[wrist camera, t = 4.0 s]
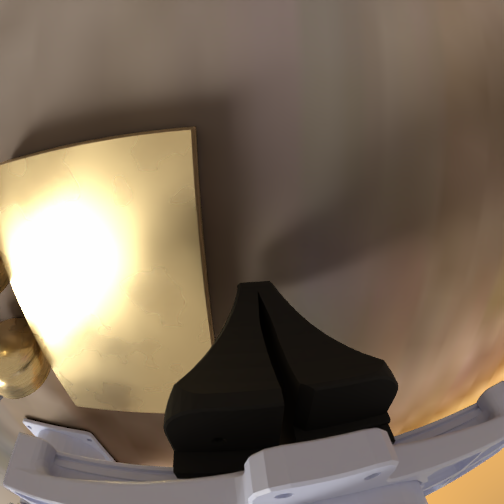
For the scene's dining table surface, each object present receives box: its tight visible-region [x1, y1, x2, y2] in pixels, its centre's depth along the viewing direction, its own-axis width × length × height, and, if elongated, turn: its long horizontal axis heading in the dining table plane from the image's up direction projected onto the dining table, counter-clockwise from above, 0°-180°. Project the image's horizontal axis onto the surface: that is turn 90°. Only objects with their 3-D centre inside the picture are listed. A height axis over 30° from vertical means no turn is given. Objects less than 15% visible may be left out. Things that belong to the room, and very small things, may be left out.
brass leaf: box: [0, 126, 215, 413], centre depth 11 cm, size 14×14×4 cm
